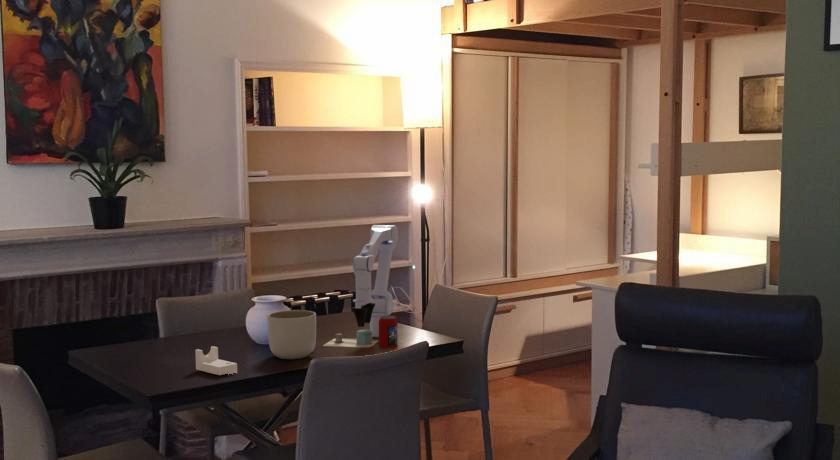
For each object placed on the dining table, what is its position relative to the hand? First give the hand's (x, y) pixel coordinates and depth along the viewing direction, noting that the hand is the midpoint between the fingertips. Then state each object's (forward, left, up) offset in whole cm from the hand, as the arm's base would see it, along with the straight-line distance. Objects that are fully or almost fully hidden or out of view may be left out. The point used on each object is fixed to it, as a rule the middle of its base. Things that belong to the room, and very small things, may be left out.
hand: (364, 324), depth 351 cm
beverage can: (+3, +10, -8) cm, 13 cm away
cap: (0, 0, -7) cm, 7 cm away
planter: (+21, -20, -8) cm, 30 cm away
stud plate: (0, -5, -8) cm, 10 cm away
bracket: (+48, -36, -9) cm, 61 cm away
